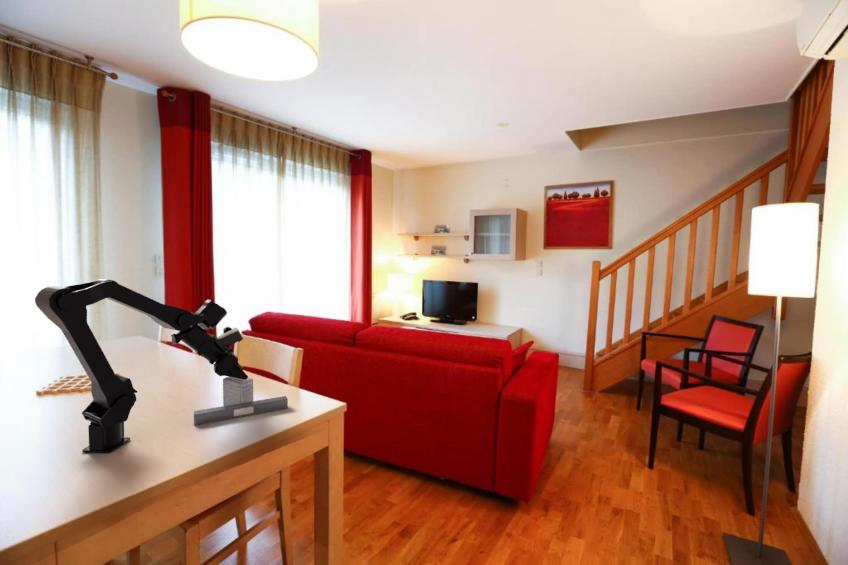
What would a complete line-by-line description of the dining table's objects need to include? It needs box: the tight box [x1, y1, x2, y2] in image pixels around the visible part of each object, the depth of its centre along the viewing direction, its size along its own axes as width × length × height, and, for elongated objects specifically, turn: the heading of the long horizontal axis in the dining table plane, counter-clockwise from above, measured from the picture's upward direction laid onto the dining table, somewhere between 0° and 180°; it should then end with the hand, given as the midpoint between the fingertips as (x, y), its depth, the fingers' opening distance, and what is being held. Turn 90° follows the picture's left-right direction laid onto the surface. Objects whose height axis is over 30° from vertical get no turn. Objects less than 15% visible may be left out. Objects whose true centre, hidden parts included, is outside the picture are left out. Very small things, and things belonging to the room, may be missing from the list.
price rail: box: [193, 395, 289, 426], centre depth 111 cm, size 24×3×3 cm, turn 123°
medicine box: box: [222, 376, 254, 406], centre depth 117 cm, size 8×4×9 cm, turn 65°
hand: (244, 374), depth 117 cm, fingers open, 8 cm apart
